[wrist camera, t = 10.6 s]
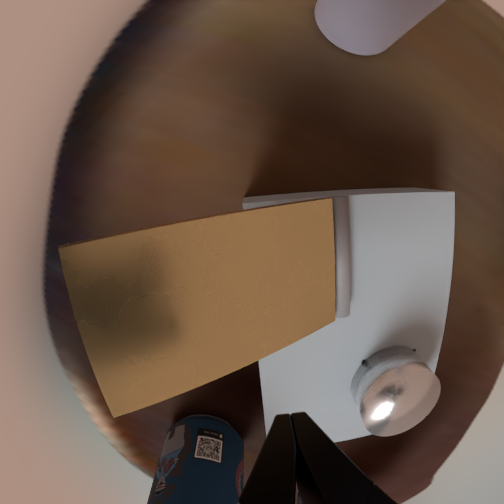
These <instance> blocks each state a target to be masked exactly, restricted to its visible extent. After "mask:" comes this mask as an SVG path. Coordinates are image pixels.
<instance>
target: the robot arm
mask: <svg viewBox="0 0 504 504" xmlns="http://www.w3.org/2000/svg"><path fill="white" fill-rule="evenodd" d="M296 482H297V486H298V490H299V493H298V504H397V503H396V502H395V501H394V500H392V499H391V498H390V497H389V496H388V495H387V494H386V493H384V492H383V491H382V490H381V489H380V488H379V487H378V486H377V485H376V484H375V485H374V482H373V481H372V480H371V479H370V478H369V477H368V476H367V475H366V474H365V473H364V472H363V471H362V470H361V469H360V468H359V467H358V466H357V465H356V464H355V463H354V462H353V461H352V460H351V459H350V458H349V457H348V456H347V455H346V454H345V453H344V452H343V451H342V450H341V449H340V448H339V447H338V446H337V445H336V444H335V443H334V442H333V441H332V440H331V439H330V438H329V437H328V435H327V434H326V433H325V432H324V431H323V430H322V429H321V428H320V427H319V426H318V425H317V424H316V423H315V422H314V420H313V419H312V418H311V417H310V416H309V415H308V414H307V413H306V412H295V413H292V414H291V415H290V414H289V413H286V414H277V415H276V416H275V417H274V420H273V422H272V425H271V427H270V430H269V432H268V435H267V437H266V439H265V442H264V444H263V446H262V449H261V451H260V453H259V456H258V458H257V460H256V463H255V465H254V467H253V469H252V471H251V474H250V476H249V478H248V480H247V482H246V485H245V487H244V489H243V491H242V493H241V495H240V497H239V499H238V501H237V503H238V504H295V492H296Z"/></svg>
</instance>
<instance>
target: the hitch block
mask: <svg viewBox="0 0 504 504" xmlns="http://www.w3.org/2000/svg"><path fill="white" fill-rule="evenodd" d="M318 198H332V205H333V223H334V248H335V321H334V322H332V323H330V324H329V325H327V326H325V327H323V328H321V329H319V330H317V331H316V332H314V333H312V334H310V335H308V336H306V337H304V338H302V339H300V340H298V341H297V342H295V343H293V344H291V345H289V346H287V347H285V348H283V349H281V350H279V351H277V352H275V353H273V354H271V355H268V356H266V357H264V358H262V359H260V360H258V361H259V371H260V380H261V390H262V399H263V409H264V418H265V427H266V437H267V435H268V432H269V430H270V427H271V425H272V422H273V420H274V417H275V416H276V415H277V414H286V413H289V414H290V415H291V414H292V413H295V412H306V413H307V414H308V415H309V416H310V417H311V418H312V419H313V420H314V422H315V423H316V424H317V425H318V426H319V427H320V428H321V429H322V430H323V431H324V432H325V433H326V434H327V435H328V437H329V438H330V439H331V440H332V441H333V442H339V441H345V440H349V439H354V438H359V437H363V436H368V435H372V434H371V433H370V432H369V431H368V430H367V429H366V427H365V425H364V422H363V420H362V418H361V416H360V413H359V411H358V409H357V406H356V404H355V402H354V400H353V397H352V395H351V390H350V386H351V381H352V378H353V376H354V374H355V372H356V371H357V369H358V368H359V366H360V365H361V364H362V360H366V359H367V358H369V357H370V356H371V355H373V354H374V353H376V352H378V351H380V350H382V349H384V348H387V347H391V346H406V347H409V348H411V349H413V350H414V351H415V352H416V353H417V355H418V356H419V357H420V358H421V359H422V360H423V361H424V363H425V364H426V365H427V366H428V367H429V368H430V370H431V371H432V372H433V373H434V374H435V370H436V366H437V362H438V357H439V353H440V348H441V343H442V338H443V333H444V327H445V321H446V315H447V308H448V301H449V294H450V285H451V276H452V264H453V250H454V228H455V192H453V191H444V190H435V189H426V188H416V187H404V188H373V189H351V190H332V191H316V192H302V193H288V194H276V195H264V196H253V197H244V199H243V210H245V209H251V208H257V207H264V206H270V205H277V204H283V203H290V202H297V201H304V200H311V199H318Z"/></svg>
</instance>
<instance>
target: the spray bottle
mask: <svg viewBox="0 0 504 504" xmlns="http://www.w3.org/2000/svg"><path fill="white" fill-rule="evenodd" d="M445 1H447V0H317V2H316V5H315V11H314V15H315V20H316V23H317V25H318V27H319V29H320V31H321V32H322V33H323V35H324V36H325V37H326V38H327V39H328V40H329V41H330V42H332V43H333V44H334V45H336V46H337V47H339V48H341V49H343V50H345V51H347V52H350V53H353V54H357V55H376V54H379V53H381V52H383V51H385V50H386V49H388V48H389V47H390V46H391V45H392V44H393V43H395V42H396V41H397V40H398V39H399V38H401V37H402V36H403V35H404V34H405V33H407V32H408V31H409V30H410V29H411V28H413V27H414V26H415V25H416V24H417V23H419V22H420V21H421V20H422V19H424V18H425V17H426V16H427V15H429V14H430V13H431V12H432V11H434V10H435V9H436V8H438V7H439V6H440V5H441V4H443V3H444V2H445Z"/></svg>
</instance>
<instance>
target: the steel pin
mask: <svg viewBox="0 0 504 504" xmlns="http://www.w3.org/2000/svg"><path fill="white" fill-rule="evenodd" d="M350 390H351V395H352V397H353V400H354V402H355V404H356V406H357V409H358V411H359V413H360V416H361V418H362V420H363V422H364V425H365V427H366V429H367V430H368V431H369V432H370V433H371V434H373V435H376V436H393V435H397V434H400V433H402V432H405V431H407V430H409V429H411V428H412V427H414V426H415V425H417V424H418V423H420V422H421V421H422V420H423V419H424V418H425V417H426V416H427V415H428V414H429V413H430V412H431V410H432V409H433V408H434V406H435V405H436V403H437V401H438V398H439V395H440V390H441V385H440V381H439V379H438V378H437V377H436V375H435V374H434V373H433V372H432V371H431V370H430V368H429V367H428V366H427V365H426V364H425V363H424V361H423V360H422V359H421V358H420V357H419V356H418V355H417V353H416V352H415V351H414V350H413V349H411V348H409V347H406V346H391V347H387V348H384V349H382V350H380V351H378V352H376V353H374V354H373V355H371V356H370V357H369V358H367V359H366V360H362V364H361V365H360V366H359V368H358V369H357V371H356V372H355V374H354V376H353V378H352V381H351V386H350Z"/></svg>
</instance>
